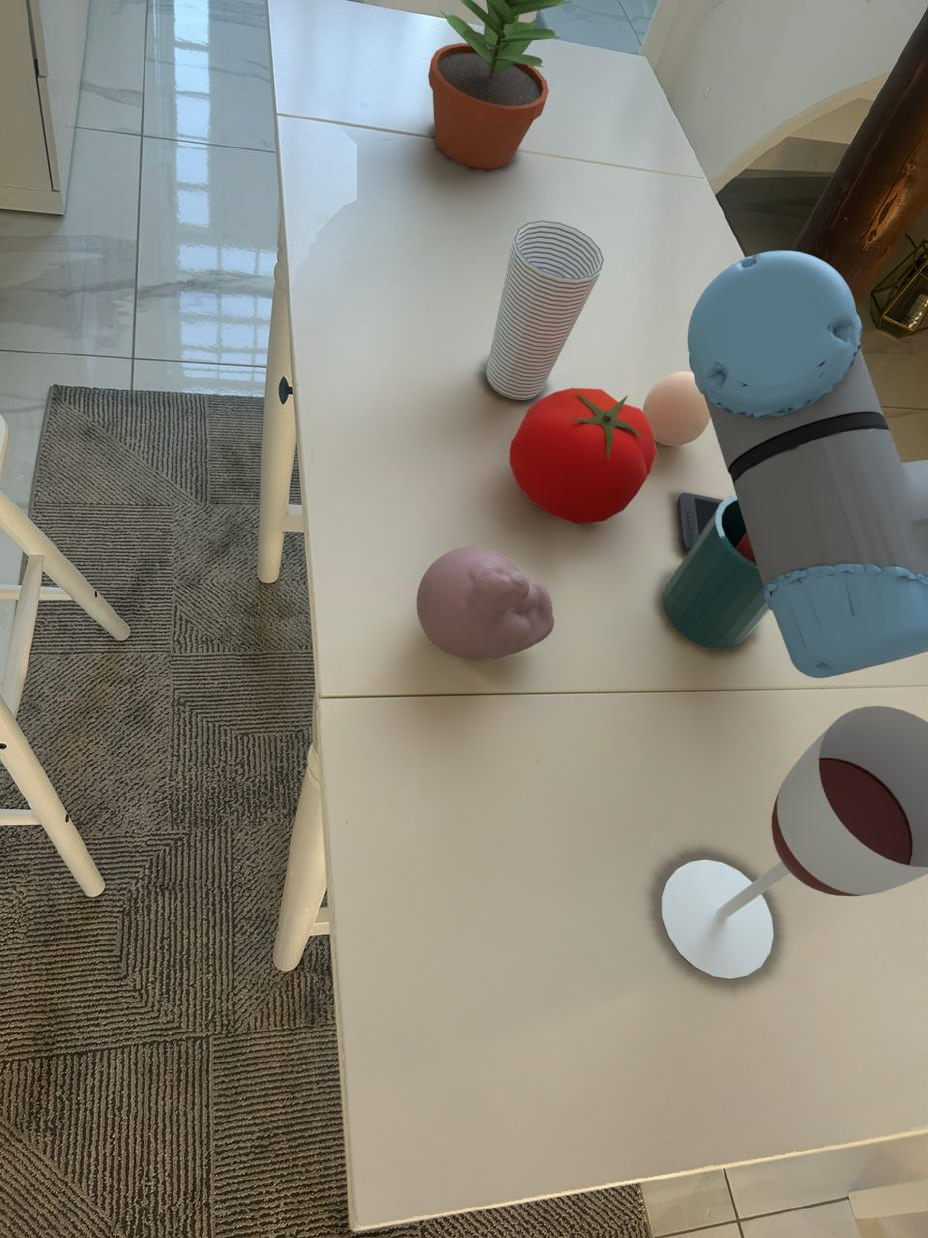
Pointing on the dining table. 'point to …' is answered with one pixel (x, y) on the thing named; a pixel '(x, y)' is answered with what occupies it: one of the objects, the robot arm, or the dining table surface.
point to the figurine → (482, 605)
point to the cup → (540, 304)
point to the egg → (676, 410)
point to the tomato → (582, 454)
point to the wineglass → (815, 839)
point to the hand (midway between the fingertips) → (804, 497)
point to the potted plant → (489, 84)
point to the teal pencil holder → (717, 585)
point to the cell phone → (694, 516)
